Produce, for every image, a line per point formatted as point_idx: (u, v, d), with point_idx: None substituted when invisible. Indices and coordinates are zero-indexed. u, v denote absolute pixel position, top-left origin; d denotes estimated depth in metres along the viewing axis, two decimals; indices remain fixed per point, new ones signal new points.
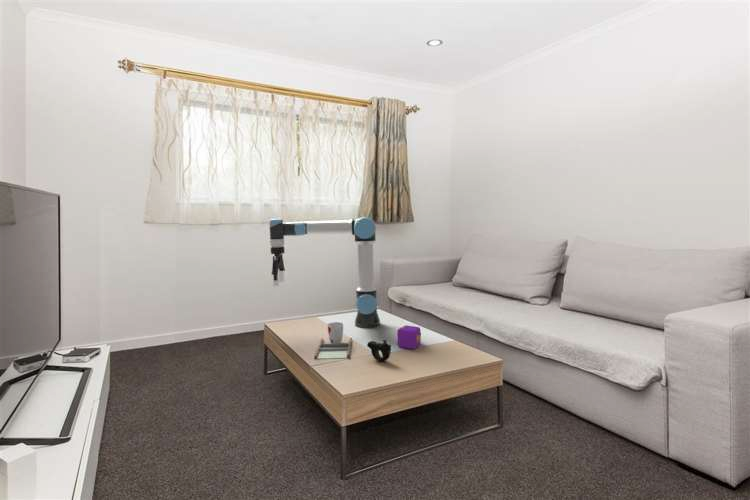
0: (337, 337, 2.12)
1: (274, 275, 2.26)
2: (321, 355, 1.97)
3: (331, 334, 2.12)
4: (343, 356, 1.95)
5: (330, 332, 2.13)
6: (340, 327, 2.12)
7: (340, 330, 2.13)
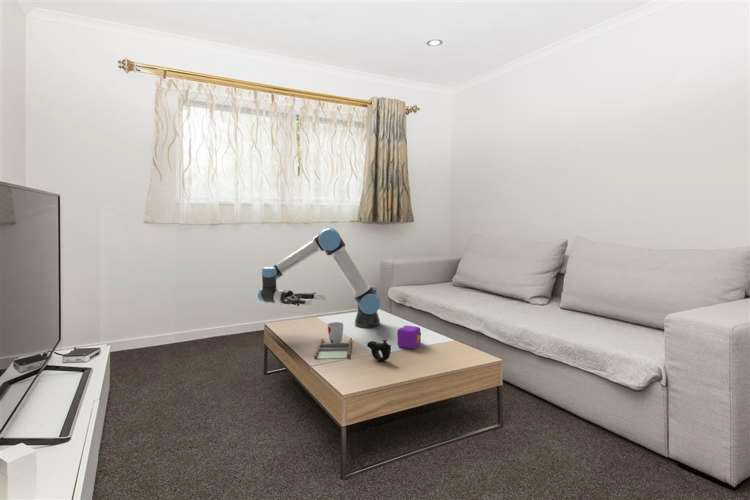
0: (337, 337, 2.12)
1: (299, 302, 2.12)
2: (321, 355, 1.97)
3: (331, 334, 2.12)
4: (343, 356, 1.95)
5: (330, 332, 2.13)
6: (340, 327, 2.12)
7: (340, 330, 2.13)
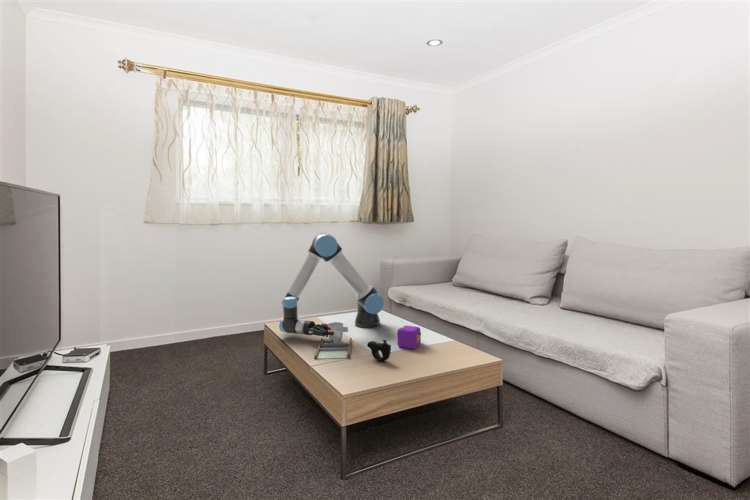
0: None
1: (327, 334, 2.11)
2: (321, 355, 1.97)
3: None
4: (343, 356, 1.95)
5: None
6: (340, 327, 2.12)
7: (340, 330, 2.13)
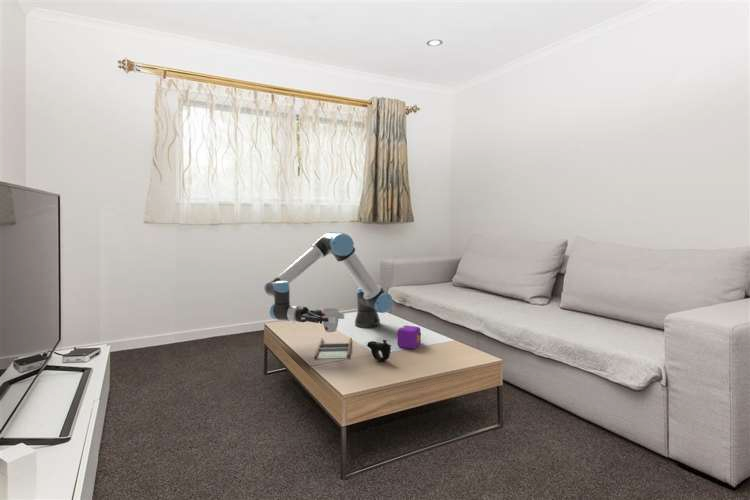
0: (331, 323, 1.94)
1: (321, 320, 1.92)
2: (321, 355, 1.97)
3: None
4: (343, 356, 1.95)
5: None
6: (335, 313, 1.94)
7: (335, 316, 1.94)
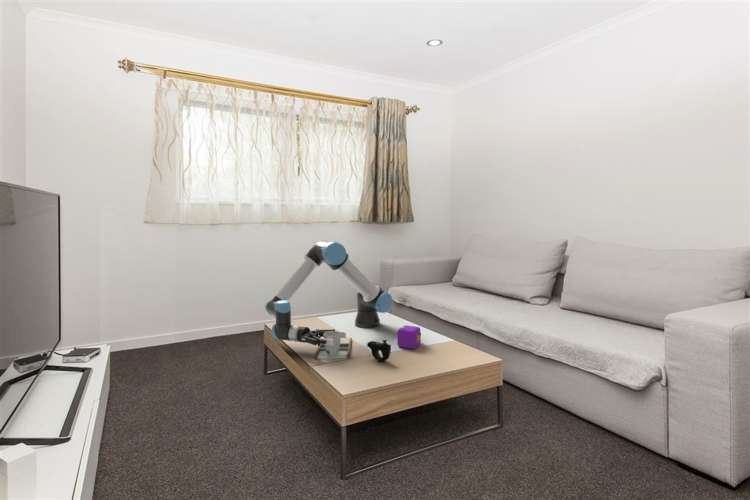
0: (333, 347, 1.94)
1: (319, 342, 1.91)
2: (321, 355, 1.97)
3: None
4: (343, 356, 1.95)
5: None
6: (337, 337, 1.95)
7: (337, 340, 1.95)
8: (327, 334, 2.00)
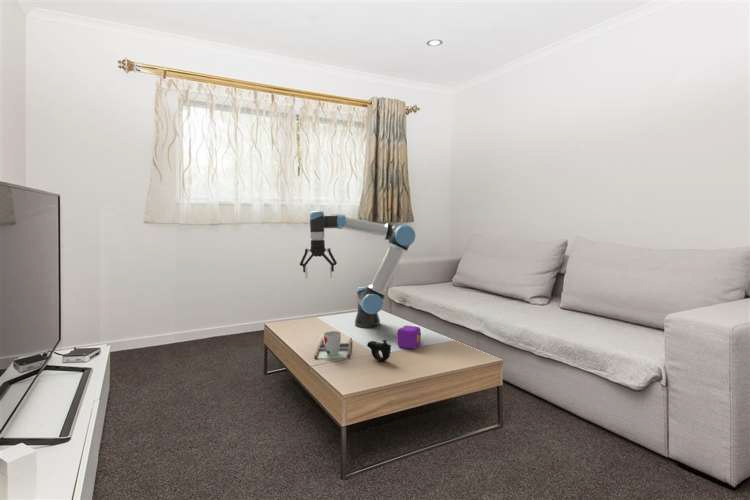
0: (334, 347, 1.95)
1: (333, 266, 2.29)
2: (321, 355, 1.97)
3: (328, 344, 1.94)
4: (343, 356, 1.95)
5: (326, 342, 1.95)
6: (337, 337, 1.95)
7: (337, 340, 1.95)
8: (327, 334, 2.00)
